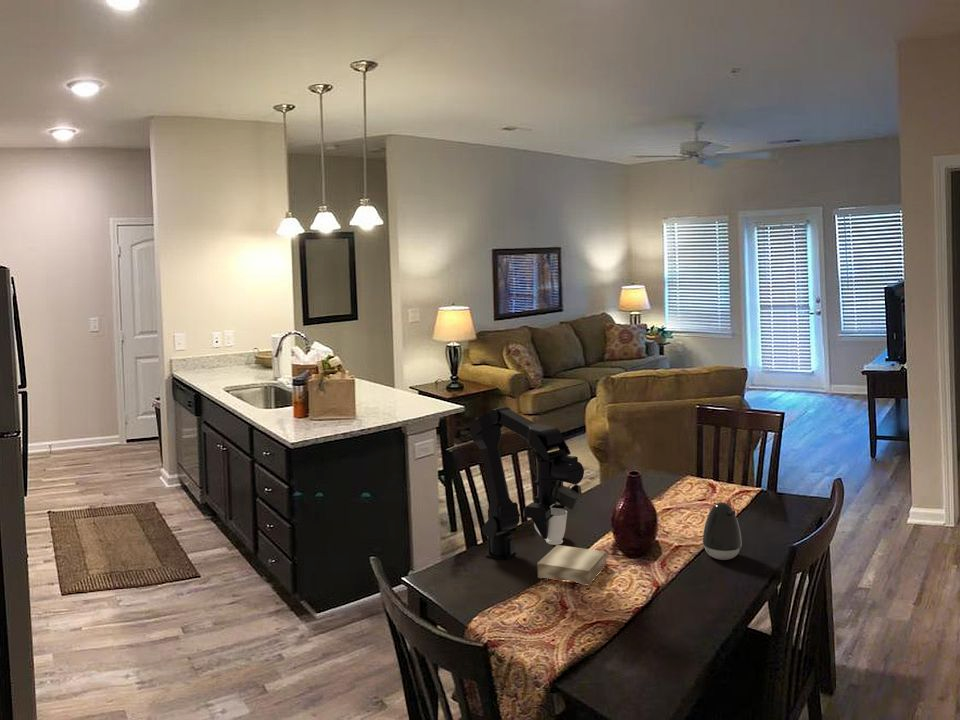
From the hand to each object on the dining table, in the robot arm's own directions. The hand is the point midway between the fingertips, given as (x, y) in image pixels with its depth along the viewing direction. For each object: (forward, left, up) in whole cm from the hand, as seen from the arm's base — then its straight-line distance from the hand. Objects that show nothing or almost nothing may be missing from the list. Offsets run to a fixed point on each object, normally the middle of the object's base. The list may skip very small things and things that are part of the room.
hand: (549, 534), depth 207 cm
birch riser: (+4, +4, -11) cm, 13 cm away
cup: (0, 0, -2) cm, 2 cm away
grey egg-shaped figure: (+38, +29, -11) cm, 50 cm away
